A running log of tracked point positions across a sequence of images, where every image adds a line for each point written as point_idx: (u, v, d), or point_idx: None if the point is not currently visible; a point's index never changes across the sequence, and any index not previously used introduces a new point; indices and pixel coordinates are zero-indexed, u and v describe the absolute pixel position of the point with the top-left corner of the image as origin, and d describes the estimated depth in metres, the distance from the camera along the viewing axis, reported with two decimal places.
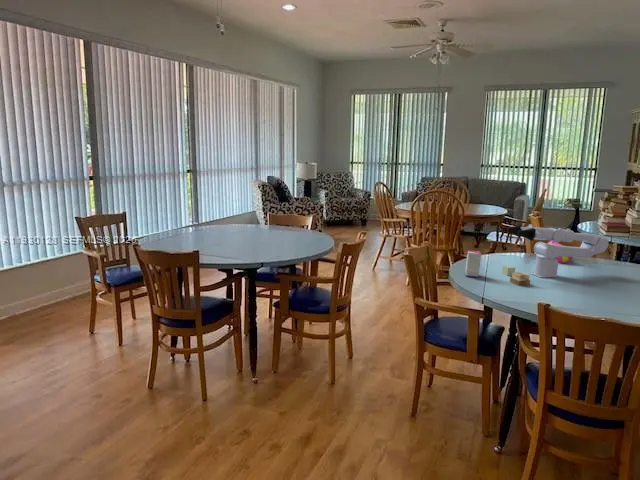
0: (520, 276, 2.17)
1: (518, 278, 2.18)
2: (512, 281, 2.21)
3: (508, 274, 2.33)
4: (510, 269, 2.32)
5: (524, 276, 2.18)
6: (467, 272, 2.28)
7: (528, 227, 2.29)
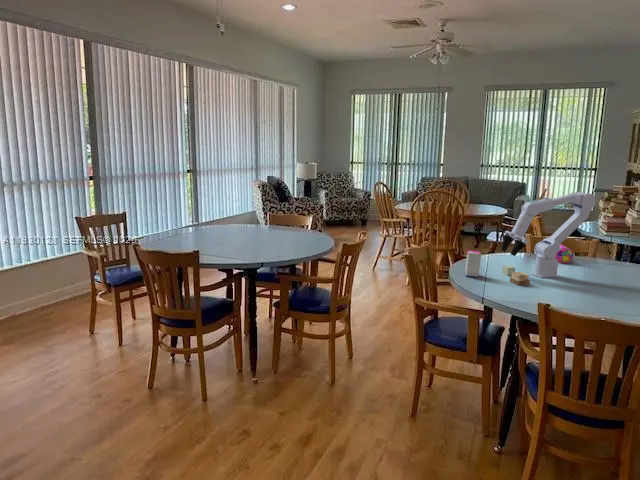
0: (519, 276, 2.17)
1: (517, 278, 2.18)
2: (512, 281, 2.21)
3: (508, 274, 2.33)
4: (510, 269, 2.32)
5: (523, 276, 2.18)
6: (467, 272, 2.28)
7: (511, 234, 2.30)
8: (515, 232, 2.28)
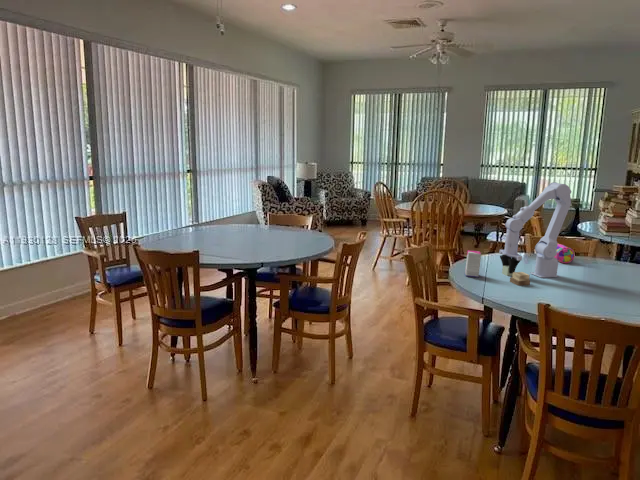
0: (520, 276, 2.17)
1: (518, 278, 2.18)
2: (512, 281, 2.21)
3: (508, 274, 2.33)
4: None
5: (524, 276, 2.17)
6: (467, 272, 2.28)
7: None
8: (508, 252, 2.31)
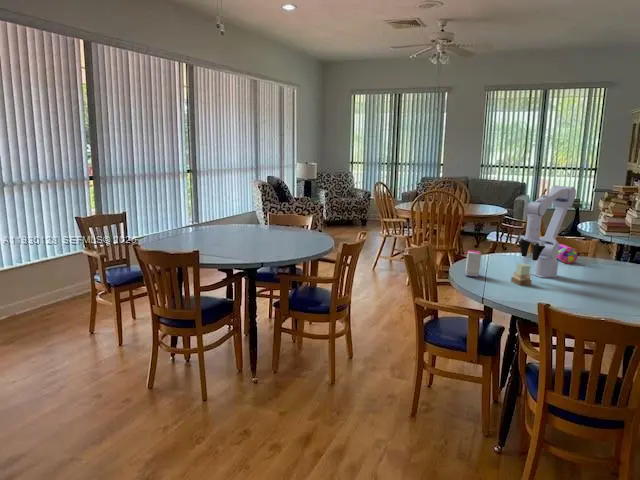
0: (521, 276, 2.18)
1: (519, 277, 2.19)
2: (513, 281, 2.21)
3: (522, 273, 2.18)
4: (524, 267, 2.17)
5: (525, 276, 2.18)
6: (467, 272, 2.28)
7: None
8: (529, 237, 2.20)
